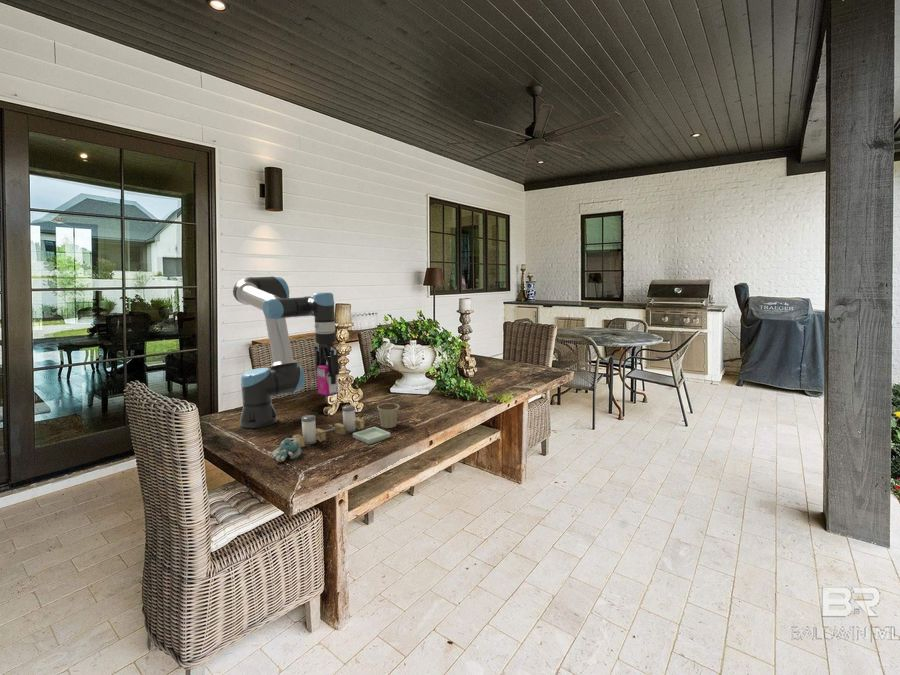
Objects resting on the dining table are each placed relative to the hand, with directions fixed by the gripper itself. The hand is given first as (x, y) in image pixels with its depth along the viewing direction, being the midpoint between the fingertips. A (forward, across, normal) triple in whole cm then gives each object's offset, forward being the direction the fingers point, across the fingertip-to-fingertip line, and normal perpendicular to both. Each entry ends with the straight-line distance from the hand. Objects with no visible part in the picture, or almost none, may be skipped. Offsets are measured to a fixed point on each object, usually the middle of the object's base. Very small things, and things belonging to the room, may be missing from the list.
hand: (328, 390), depth 182 cm
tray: (+19, +14, +10) cm, 25 cm away
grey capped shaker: (+19, 0, +9) cm, 21 cm away
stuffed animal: (+19, +7, -22) cm, 30 cm away
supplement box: (+2, 0, 0) cm, 2 cm away
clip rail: (+19, -2, 0) cm, 19 cm away
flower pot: (+19, +8, +24) cm, 31 cm away
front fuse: (+19, 0, -9) cm, 21 cm away
